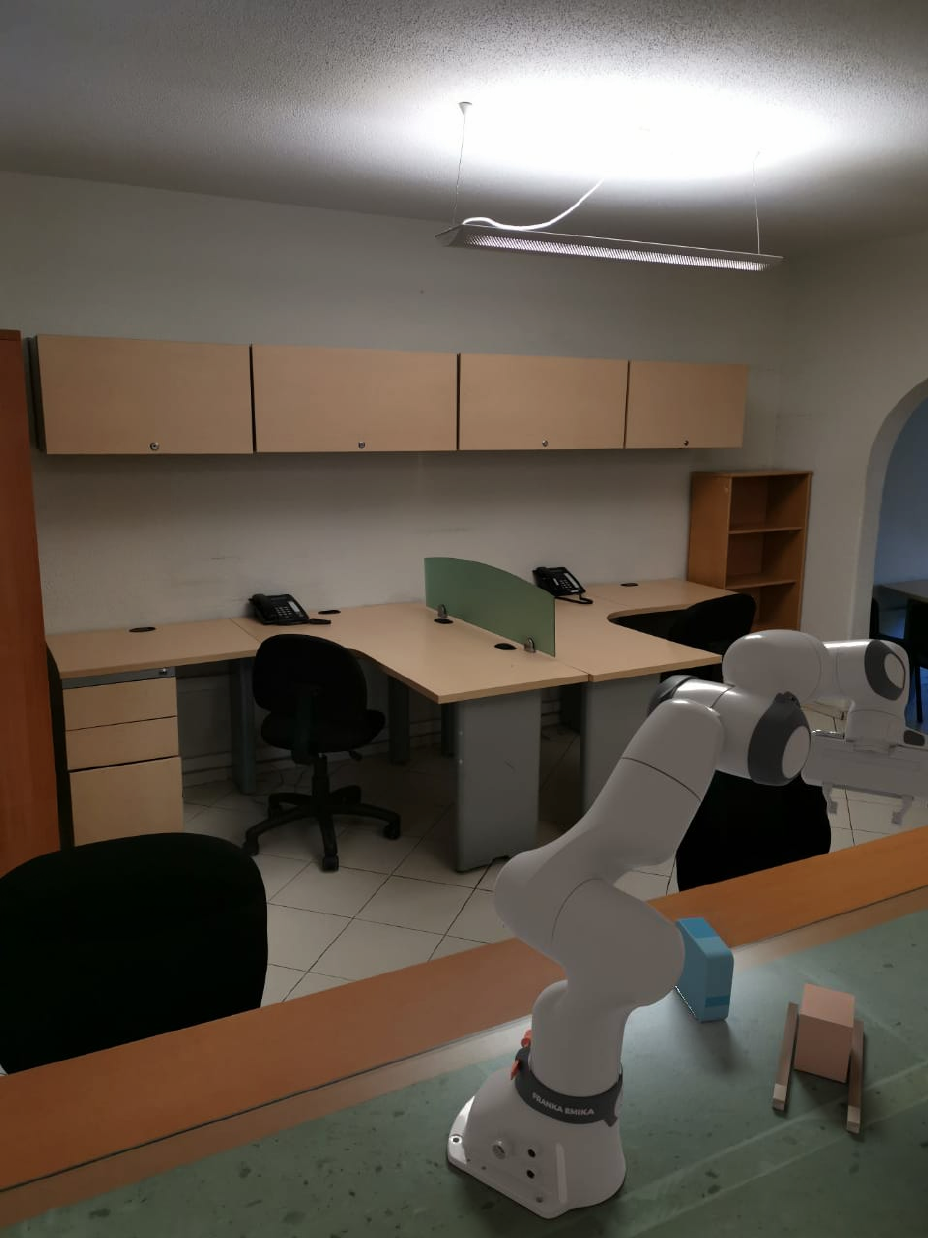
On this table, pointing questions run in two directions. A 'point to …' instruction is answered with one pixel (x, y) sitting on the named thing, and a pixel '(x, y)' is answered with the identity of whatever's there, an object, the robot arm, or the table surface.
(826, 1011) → the block
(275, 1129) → the table surface
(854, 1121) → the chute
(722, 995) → the data package
